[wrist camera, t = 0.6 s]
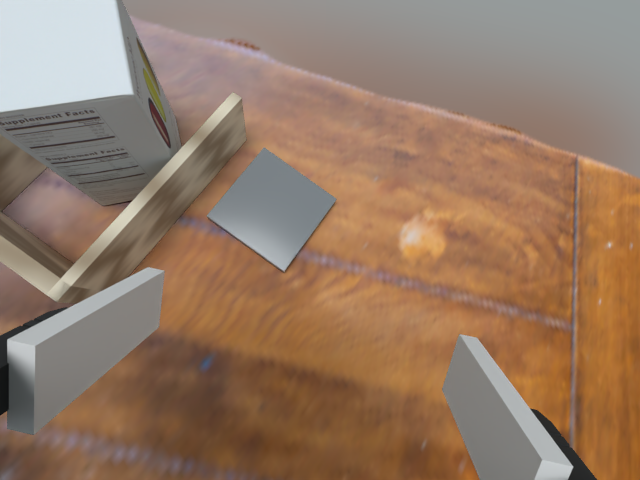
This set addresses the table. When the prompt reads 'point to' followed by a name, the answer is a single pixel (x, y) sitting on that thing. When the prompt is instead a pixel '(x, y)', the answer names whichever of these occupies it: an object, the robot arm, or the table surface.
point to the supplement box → (84, 95)
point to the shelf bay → (130, 226)
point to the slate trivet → (272, 209)
